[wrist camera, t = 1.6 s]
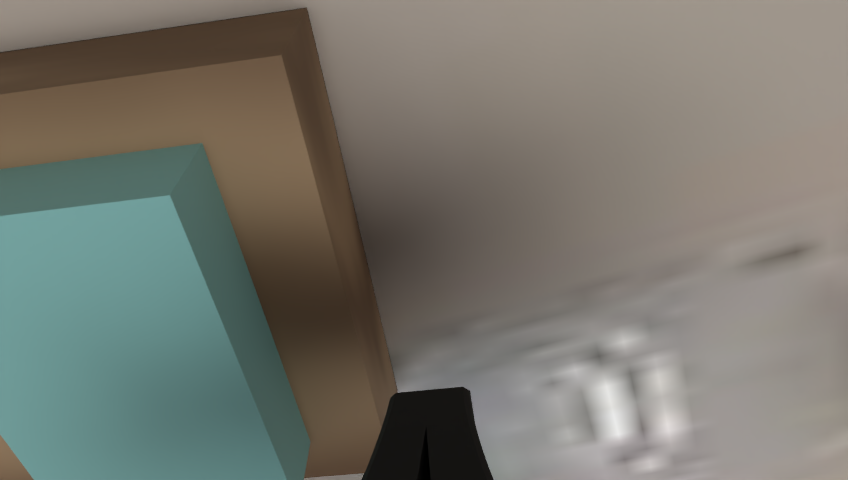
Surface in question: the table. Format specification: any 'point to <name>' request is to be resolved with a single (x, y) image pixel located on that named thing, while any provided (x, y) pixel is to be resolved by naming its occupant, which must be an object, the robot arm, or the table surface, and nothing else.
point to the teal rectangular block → (136, 327)
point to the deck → (233, 189)
